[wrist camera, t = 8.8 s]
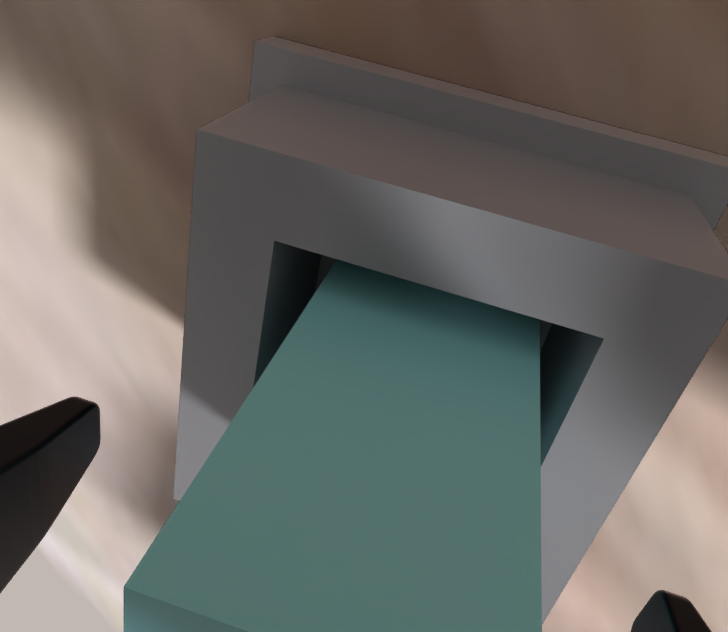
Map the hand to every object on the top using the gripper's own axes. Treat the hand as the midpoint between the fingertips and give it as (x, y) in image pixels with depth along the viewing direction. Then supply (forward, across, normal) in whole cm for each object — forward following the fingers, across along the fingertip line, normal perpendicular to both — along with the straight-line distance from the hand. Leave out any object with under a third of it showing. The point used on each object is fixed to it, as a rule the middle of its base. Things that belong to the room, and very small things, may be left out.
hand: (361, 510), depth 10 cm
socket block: (+7, 0, 0) cm, 7 cm away
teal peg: (+6, 0, 0) cm, 6 cm away
